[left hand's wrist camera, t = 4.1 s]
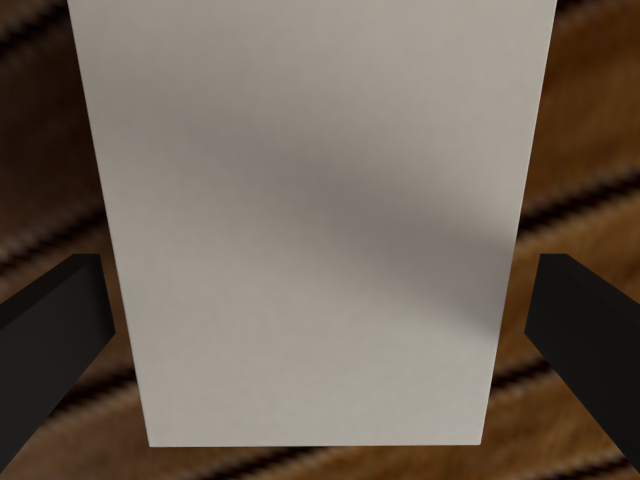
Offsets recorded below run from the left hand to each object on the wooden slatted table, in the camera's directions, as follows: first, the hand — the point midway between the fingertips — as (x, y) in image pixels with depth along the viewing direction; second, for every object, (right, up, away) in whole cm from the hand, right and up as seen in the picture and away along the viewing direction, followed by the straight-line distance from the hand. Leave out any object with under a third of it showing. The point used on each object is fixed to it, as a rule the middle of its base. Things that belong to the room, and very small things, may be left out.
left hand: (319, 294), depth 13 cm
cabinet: (0, +6, +6) cm, 9 cm away
